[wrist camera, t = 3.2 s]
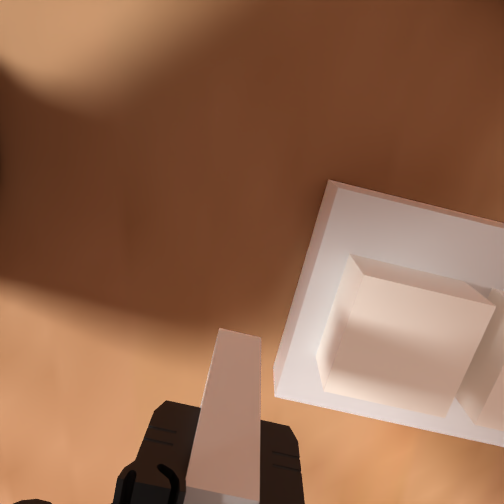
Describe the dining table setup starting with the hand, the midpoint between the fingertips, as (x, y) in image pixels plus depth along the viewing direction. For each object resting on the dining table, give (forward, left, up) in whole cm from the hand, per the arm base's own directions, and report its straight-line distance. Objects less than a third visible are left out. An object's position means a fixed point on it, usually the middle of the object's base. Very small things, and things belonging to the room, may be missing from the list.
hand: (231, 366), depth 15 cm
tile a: (+8, 0, -7) cm, 10 cm away
